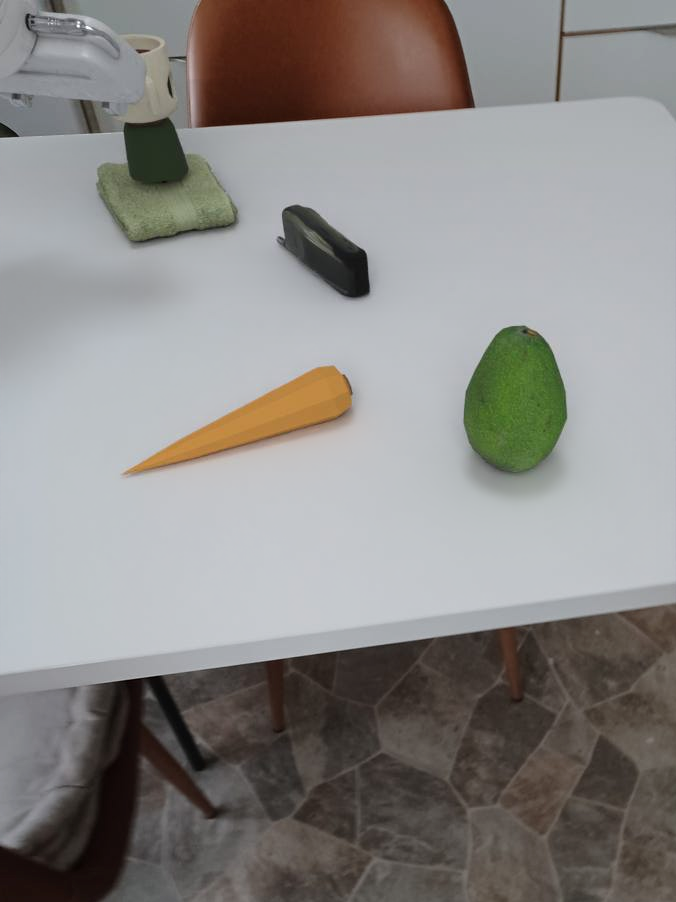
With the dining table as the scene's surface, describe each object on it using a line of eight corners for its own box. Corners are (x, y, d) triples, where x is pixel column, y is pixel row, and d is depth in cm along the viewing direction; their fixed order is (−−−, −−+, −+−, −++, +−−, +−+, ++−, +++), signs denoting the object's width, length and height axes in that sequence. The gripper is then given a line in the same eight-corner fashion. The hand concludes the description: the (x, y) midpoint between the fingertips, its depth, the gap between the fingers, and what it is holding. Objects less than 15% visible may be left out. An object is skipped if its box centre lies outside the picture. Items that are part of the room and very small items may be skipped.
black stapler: (372, 247, 92) (289, 190, 99) (346, 257, 91) (264, 198, 98) (375, 295, 96) (295, 237, 103) (350, 305, 94) (271, 245, 102)
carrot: (348, 406, 84) (330, 355, 82) (364, 414, 80) (347, 362, 78) (128, 494, 79) (103, 443, 77) (135, 508, 75) (109, 454, 73)
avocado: (534, 504, 74) (542, 368, 65) (446, 472, 77) (443, 337, 68) (578, 449, 79) (591, 315, 70) (494, 421, 81) (497, 288, 72)
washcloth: (204, 166, 115) (199, 138, 113) (245, 228, 105) (240, 198, 102) (93, 186, 112) (85, 157, 109) (124, 252, 101) (115, 221, 99)
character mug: (208, 189, 104) (181, 54, 94) (144, 203, 101) (109, 67, 92) (176, 153, 110) (147, 24, 100) (114, 166, 108) (78, 35, 98)
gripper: (102, -18, 74) (182, 78, 88) (-136, -37, 76) (-23, 59, 90) (92, 66, 74) (173, 149, 88) (-145, 44, 77) (-31, 128, 91)
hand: (72, 103), depth 89 cm, fingers open, 8 cm apart
